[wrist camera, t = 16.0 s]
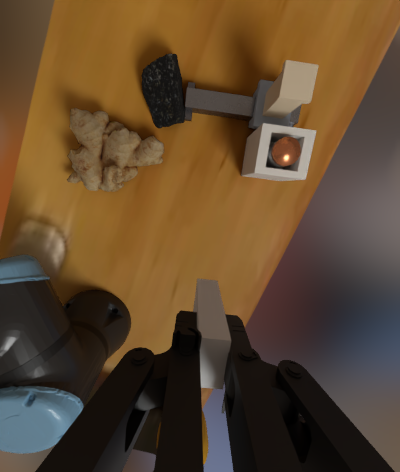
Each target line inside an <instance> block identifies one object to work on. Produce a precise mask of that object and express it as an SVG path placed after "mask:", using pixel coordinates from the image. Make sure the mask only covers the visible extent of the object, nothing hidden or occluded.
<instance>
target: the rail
mask: <svg viewBox="0 0 400 472" xmlns="http://www.w3.org/2000/svg"><path fill="white" fill-rule="evenodd" d="M255 100H256V97H249V96H242V95H235V94H229V93H222V92H215V91H209V90H202V89H195V83H192V82H188V87H187V93H186V103H185V120H186V121H191V119H192V112H193V113H200V114H207V115H214V116H221V117H228V118H235V119H242V120H249V121H250V120H251V119H252V118H253V112H254V106H255ZM300 109H301V105H300V106H298V107H297V108H296V109H294V110H293V111H292V112H291V116H290V121H289V126H288V127H293V126H294V125H295V124H297V123H298V119H299V114H300Z"/></svg>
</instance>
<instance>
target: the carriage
mask: <svg viewBox="0 0 400 472" xmlns="http://www.w3.org/2000/svg"><path fill="white" fill-rule="evenodd" d="M317 70H318V65H315V64H309V63H302V62H296V61H290V60H286V61H285V62H284V64H283V69H282V72H281V74H280V75H279V76H278V78H277V79H276V80H275V82H274V81H267V80H260V81H259V83H258V87H257V90H256V91H255V93H254V94H253V97H256V100H255V106H254V112H253V118H252V119H251V120H250V121H249V126H248V128H253V129H257V128H258V127H259V126H260V125H261V124H263V123H266V124H273V125H280V126H287V127H288V126H289V121H290V116H291V112H292V111H293V110H294V109H296V108H297V107H298V106H300V105H301V104H302V103H304V104H308V103H310V102H311V99H312V94H313V89H314V84H315V80H316V75H317Z"/></svg>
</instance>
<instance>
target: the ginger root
mask: <svg viewBox="0 0 400 472" xmlns="http://www.w3.org/2000/svg"><path fill="white" fill-rule="evenodd" d="M70 112H71V115H70V123H71V124H70V126H69V127H70V128H71V130H72V132H73V133H74V134H75V136H76V138H77V140H78V144H79V143H80V144H81V146H80V147H79V149H77V150H70V154H69V155H68V157H69V159H70V160H71V161H72V163H73V165H72V168H73V169H74V170H75V172H73V173H72V174H71V175H70V176H69V178H68V179H67V181H68V182H71V183H78V182H79V181H80V180H81V181H82V182H84V185H85V186H86V188H87V189H88V190H93V191H97V190H98V189H102V190H104V191H108V192H109V191H118V190H119V189H120V188H122V187H123V186H124V184H123V183H122V181H125V182H126V181H129V180H131V179H132V178H134V177H135V176H136V175H137V173H138V169H137V167H136V166H149V165H154V164H160V163H162V162H163V159H162V157H161V155H162V154H163V153H164V145H163V143H162V142H160V141H159V140H157V139H156V138H155V137H154V136H151V137H148V138H146V139H145V140H141V138H140V136H139V135H138V134H137V133H136V132H133V131H131V132H129V131H128V129H127V128H124V125H123V124H121V123H119V122H115V121H114V122H109V117H108V114H107V113H105V112H103V111H97V112H94V113H93V114H92V113H90V112H89V111H87V110H79V109H77V108H74V109H71V110H70Z"/></svg>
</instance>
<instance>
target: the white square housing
mask: <svg viewBox="0 0 400 472" xmlns="http://www.w3.org/2000/svg"><path fill="white" fill-rule="evenodd" d="M315 135H316V131H315V130H308V129H301V128H294V127H287V126H280V125H273V124H266V123H263V124H261V125H260V126H259V127H258V128H257V129H256V130H255V131H254V132H253V133H252V134H251V135H250V136H249V137H247V142H246V148H245V154H244V161H243V167H242V173H241V176H246V177H254V178H261V179H269V180H277V181H290V180H306V175H307V171H308V166H309V162H310V157H311V153H312V148H313V144H314V139H315ZM283 137H293V138H295V139H296V140H297V141H298V142H299V144H300V147H301V153H300V156H299V158H298V160H297V161H296V162H295V163H293V164H291V165H288V166H284V167H279V168H275V169H274V168H267V167H266V161H267V156H268V150H269V145H270V144H272V143H274V142H276V141H278V140H279V139H281V138H283Z"/></svg>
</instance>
